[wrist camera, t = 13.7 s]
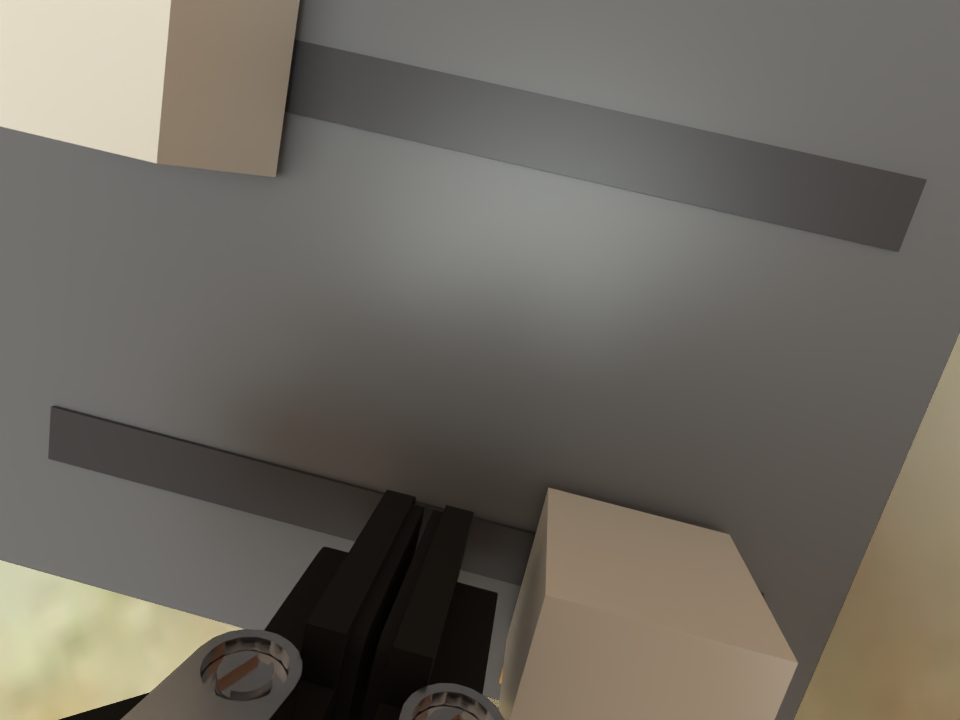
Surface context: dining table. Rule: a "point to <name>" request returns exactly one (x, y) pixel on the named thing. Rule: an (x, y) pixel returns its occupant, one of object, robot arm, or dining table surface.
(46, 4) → the tab
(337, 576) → the robot arm
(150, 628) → the dining table surface
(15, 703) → the dining table surface
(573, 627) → the tab
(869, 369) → the switch board
